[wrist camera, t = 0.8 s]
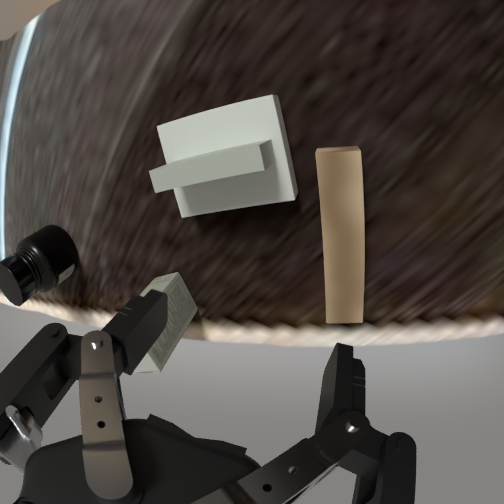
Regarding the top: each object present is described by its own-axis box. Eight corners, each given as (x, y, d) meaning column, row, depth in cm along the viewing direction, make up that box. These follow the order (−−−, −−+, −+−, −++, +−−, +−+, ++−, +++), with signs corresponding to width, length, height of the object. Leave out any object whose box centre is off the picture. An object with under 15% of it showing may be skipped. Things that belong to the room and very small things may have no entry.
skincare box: (154, 277, 42) (103, 331, 31) (180, 270, 40) (130, 328, 29) (175, 315, 44) (132, 374, 33) (201, 310, 42) (160, 373, 31)
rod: (357, 146, 29) (360, 150, 25) (360, 302, 36) (362, 322, 33) (317, 148, 30) (315, 153, 26) (327, 303, 37) (326, 323, 34)
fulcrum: (277, 96, 28) (260, 91, 21) (298, 192, 32) (287, 217, 25) (170, 124, 32) (128, 131, 25) (193, 208, 36) (159, 235, 29)
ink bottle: (49, 270, 48) (3, 305, 37) (36, 223, 44) (-16, 254, 33) (86, 276, 45) (37, 318, 35) (73, 223, 42) (15, 259, 31)
